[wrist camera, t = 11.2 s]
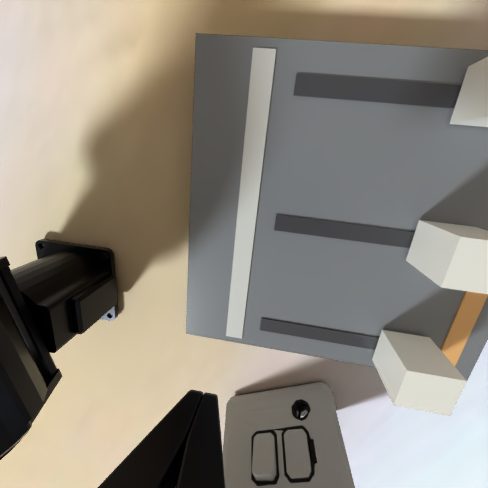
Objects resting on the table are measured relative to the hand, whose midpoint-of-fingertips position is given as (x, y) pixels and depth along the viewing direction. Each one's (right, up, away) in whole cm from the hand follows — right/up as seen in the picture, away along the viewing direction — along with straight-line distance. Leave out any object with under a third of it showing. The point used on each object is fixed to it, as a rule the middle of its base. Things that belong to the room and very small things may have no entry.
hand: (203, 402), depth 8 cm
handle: (+12, -2, +10) cm, 15 cm away
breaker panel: (+8, +6, +10) cm, 14 cm away
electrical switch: (+5, -10, +16) cm, 19 cm away
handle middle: (+13, +5, +7) cm, 15 cm away
